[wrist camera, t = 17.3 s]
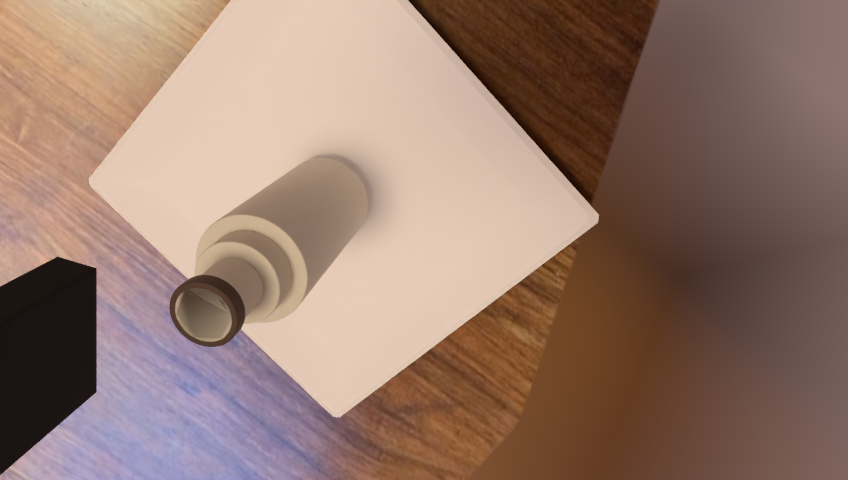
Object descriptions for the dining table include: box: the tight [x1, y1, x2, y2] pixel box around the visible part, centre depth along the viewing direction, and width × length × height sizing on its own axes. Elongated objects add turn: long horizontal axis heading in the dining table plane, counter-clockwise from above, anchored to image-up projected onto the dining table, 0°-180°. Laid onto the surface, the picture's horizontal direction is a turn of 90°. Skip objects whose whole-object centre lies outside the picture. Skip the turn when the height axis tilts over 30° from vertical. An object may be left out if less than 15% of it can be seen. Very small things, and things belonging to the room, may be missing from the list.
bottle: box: [170, 158, 368, 347], centre depth 34 cm, size 6×6×17 cm
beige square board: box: [89, 0, 599, 417], centre depth 43 cm, size 26×26×2 cm
